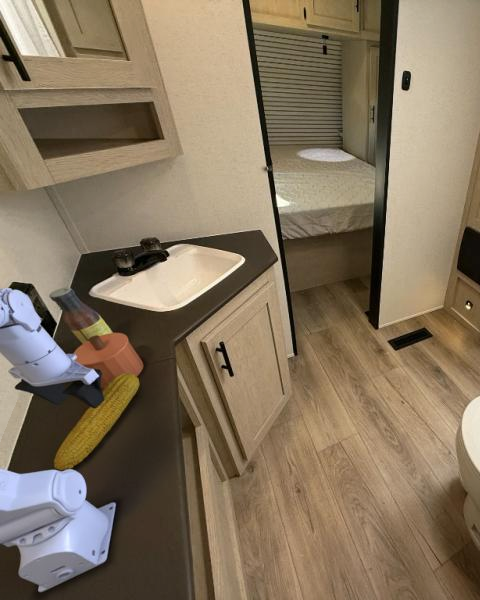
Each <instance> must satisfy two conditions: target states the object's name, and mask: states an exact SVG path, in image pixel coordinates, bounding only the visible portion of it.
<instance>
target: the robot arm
mask: <svg viewBox="0 0 480 600" xmlns="http://www.w3.org/2000/svg"><path fill="white" fill-rule="evenodd" d="M41 323H42V320H41V317H40V315H38V313H37V312H36V310H35V307H34V304H33V301H32V299H31V298H30V297H29V296H28V294H26V293H24V292H23V291H21V290H19V289H12V288H10V287H2V288H0V354H1V355H2V356H3V357H4V359H6V360H7V361H8V362H9V363H10V364H11V365H12V367H11V368H9V369H8V370H7V372H8V373H9V374H10V375H11V376H12V377H13V378H14V379H20V381H19V382H18V383H17V384H15V386H14V389H15V390H17V391H22V392H25V393H29V394H32V395H35V396H37V397H40V398H41V399H43V400H45V401H47V402H49V403H51V404H54V405H56V406H60V405H62V403H63V402H65V400H67V399H68V398H69V396H72V397H74V398H77V399H78V400H80V401H82V402H83V404H85V405H86V406H88V407H89V408H90V407H92V408H97V407H98V406H99V405H100V404H101V403H102V402H103V401H104V400H105V399H104V395H103V392H102V391H103V389H102V388H101V377H102V371H101V370H99V369H89V368H86V367H84V366H83V365H81V364H79V363H78V362H76V361H74V360H75V359H76V358H77V356H76V355H75V354H73V353H66V352H64V350H63V349H62V348H61V347H60V346H59V345H58V344H57V342H56V341H55V340H54V338H52V337H51V335H50V334H49V333H48V332H47V330H46V329H45V328H44V327H43V326H42V325H41ZM69 382H72V383H71V384H70V385H68V386H67V387H64V385H63V383H69ZM86 498H87V483H86V480H85V478H84V477H83V475H82V474H81V473H80V472H79V471H77V470H75V469H73V468H71V469H67V470H65V471H64V470H58V469H47V470H46V469H45V470H40V471H33V472H27V473H17V472H13V471H11V470H9V469H8V470H7V469H4V468H1V467H0V545H3V546H5V547H7V548H10V547H13V546H17V548H18V550H19V553H20V563H19V567H18V576H19V578H21V579H24V580H26V581H28V582H31V583H33V584H35V585H37V586H38V589H37V591H38V592H39V593H43V592H46V591H48V590H49V589H51V588H54V587H56V586H58V585H60V584H62V583H64V582H66V581H68V580H70V579H73V578H74V577H76V576H79V575H81V574H83V573H85V572H88V571H89V570H92V569H94V568H96V567H98V566H100V565H102V564H104V563H105V562H106V561H107V559H108V554H109V549H110V548H109V547H110V541H111V537H112V530H113V523H114V517H115V512H116V505H117V503H116V502H110V503H108V504H105V505H103V506H101V507H96V506H94V505H93V504H91V502H89V501H88V500H86Z"/></svg>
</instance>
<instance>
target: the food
mask: <svg viewBox="0 0 480 600" xmlns="http://www.w3.org/2000/svg"><path fill="white" fill-rule="evenodd" d="M139 387H140V380H139V377H138V376H137V377H136V376H135V375H134V374H125V373H123V374H121V375H118V376H116V377H115V378H113V379H112V380H111V381H110V382H109V383H108V385H107V386H105V388H104V389H102V392H103V395H104V399H105V400H104V401H103V402H102V403H101V404H100V405H99V406H98V407H97V408H92V407H90V406H89V408H88V409H87V410H86V411H85V412H84V414H83V415H82V416H81V417H80V419H79V420H78V422H77V423H76V425H75V426H74V427H73V428H72V430H70V431H69V433H68V435H67V436H66V437H65V439H64V440H63V442H62V444H61V445H60V447H59V448H58V450H57V451H56V454H55V458H54V460H53V463H54V464H53V465H54V466H53V467H54V470H57V471H65V470H68V469H73V468H74V466H77V465H78V464H80V463H81V462H83V460H84V459H86V458H87V457H88V456H89V455H90V454H91V453H92V452H93V450H94V449H95V448H96V447H97V446H98V444H100V442H101V441H102V440H103V439H104V437H105V436H106V434H107V433H108V432H109V431H111V429H112V427H113V426H114V425H115V424H116V422H117V421H118V419H119V418H120V416H121V415H122V413H123V412H124V411H125V410H126V408H127V407H128V405H129V403H130V402H131V400H132V399H133V397H134V396H135V395H136V394H137V392H138V390H139Z"/></svg>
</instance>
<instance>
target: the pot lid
mask: <svg viewBox="0 0 480 600" xmlns="http://www.w3.org/2000/svg"><path fill="white" fill-rule="evenodd" d="M128 342H129V343H130V341H129V337H128V336H127V335H126V334H124V333H121V332H113V333H109V334H105V335H101V336H98V335H96V336H92V337H90V338H89V339H88V341H87V342H86V343H84V344H82V343H81V345H80V346H79V347H77V348H76V349H75V350H74V352H73V353H72V354H75V355H76V356H77V358H76V359H75V360H74V361H76V362H78V363H79V364H81V365H83V366H88V365H94V364H98V363H101V362H104V361H107V360H109V359H111V358H113V357H114V356H116V355H118V354H119V353H120V352H122V351H123V350H124V349H125V348H126V346H127V345H128Z"/></svg>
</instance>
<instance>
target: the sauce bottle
mask: <svg viewBox="0 0 480 600" xmlns="http://www.w3.org/2000/svg"><path fill="white" fill-rule="evenodd" d="M49 298H50V299H51V301H53V302H55V303H56V305H57V306H58V307H59V308H60V310H61V312H62V321H63V322H64V323H65V325H66V326H67V327H68V329H69V330H70V331H71V332H72V333H73V335H74V336H75V337H76V338H77V339H78V340H79V342H81V345H82V344H84V343H86V342H87V341H88V339H89V338H90V337H92V336H96V335H98V336H101V335H105V334H109V333H114V332H113V331H112V329H111V328H110V326H109V325H108V324H107V323H106V322H105V319H103V318H102V316H101V314H100V313H98V311H96V310H95V309H93V308H92V307H90V306H89V305H87V304H86V303H84V302H82V301H81V300H80V299H79V297H78V296H77V295H76V292H75V290H74V289H72V287H68V286H67V287H66V286H65V287H61V288H58V289H55V290H53V291H51V292H50V293H49Z"/></svg>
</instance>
